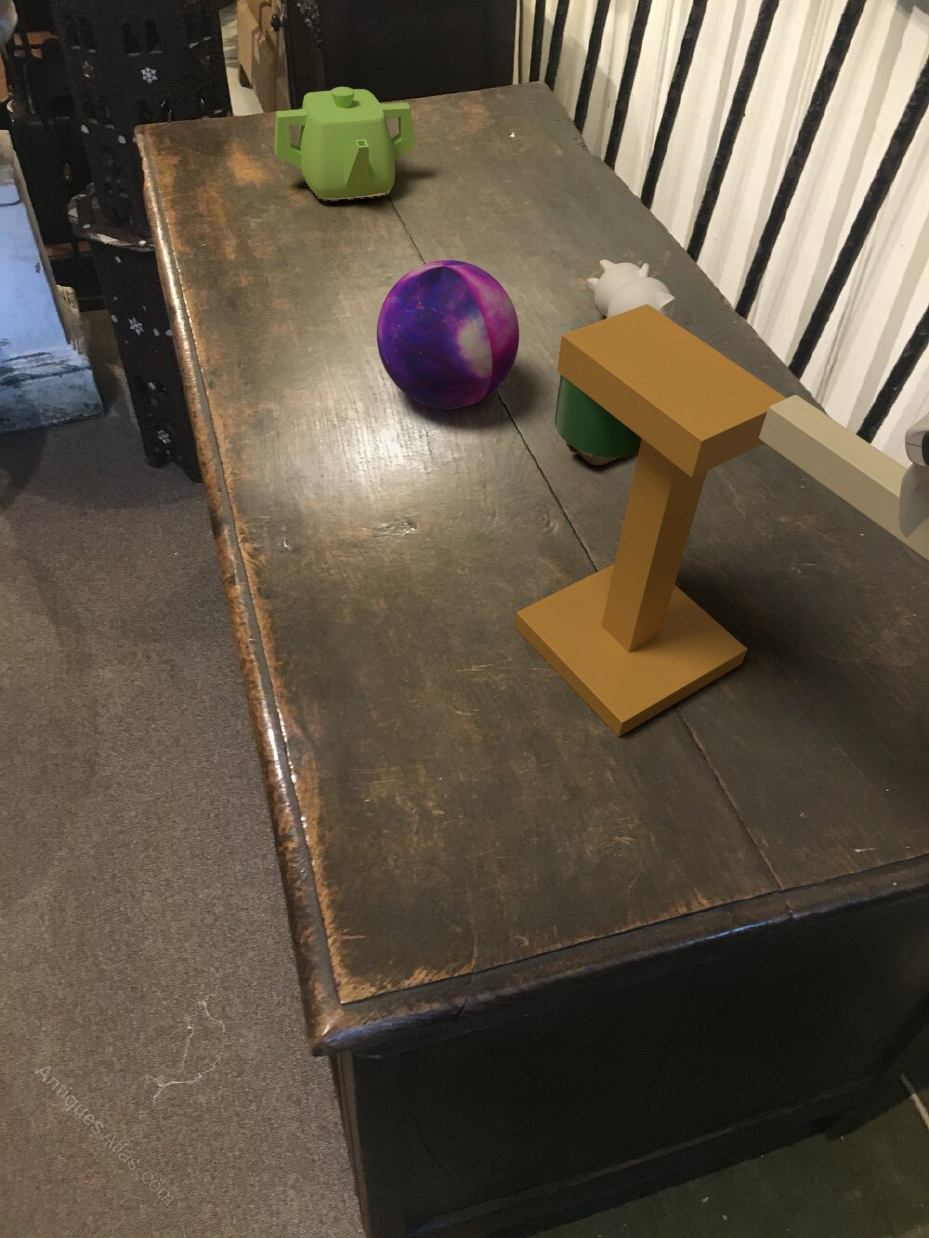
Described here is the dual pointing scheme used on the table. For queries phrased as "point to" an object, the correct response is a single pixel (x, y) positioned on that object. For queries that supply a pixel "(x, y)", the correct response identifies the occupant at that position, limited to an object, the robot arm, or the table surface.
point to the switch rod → (842, 464)
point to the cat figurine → (629, 290)
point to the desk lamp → (645, 511)
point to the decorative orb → (448, 334)
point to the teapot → (345, 142)
